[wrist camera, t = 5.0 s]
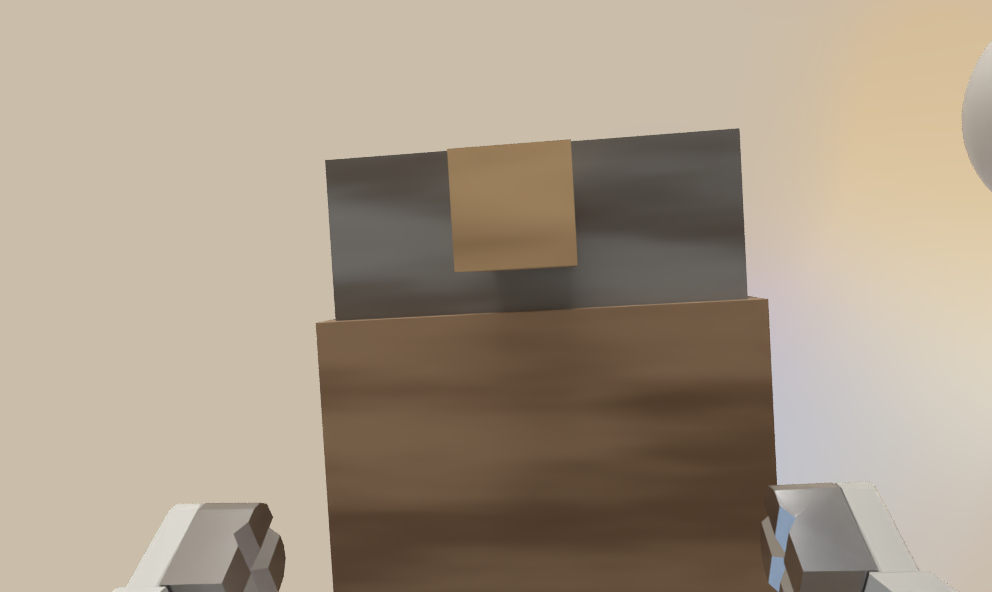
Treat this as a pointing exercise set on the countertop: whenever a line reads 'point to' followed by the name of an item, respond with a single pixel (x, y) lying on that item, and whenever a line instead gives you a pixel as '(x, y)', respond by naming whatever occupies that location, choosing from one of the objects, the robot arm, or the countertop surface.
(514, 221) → the t bar
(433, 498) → the post
